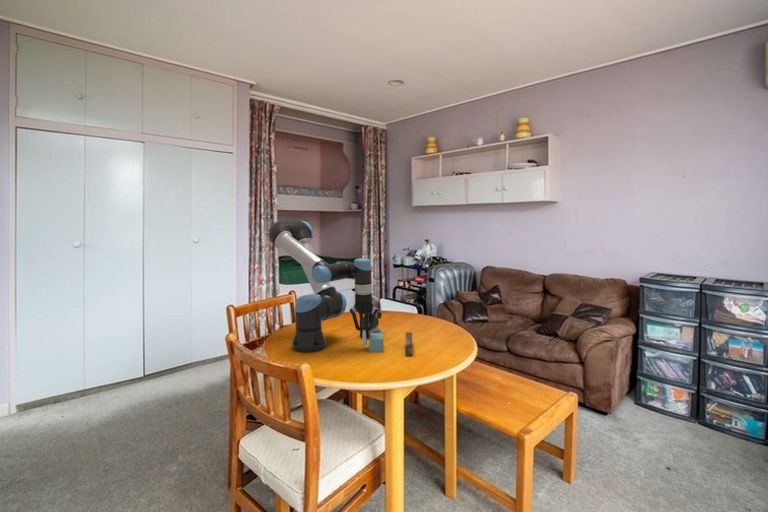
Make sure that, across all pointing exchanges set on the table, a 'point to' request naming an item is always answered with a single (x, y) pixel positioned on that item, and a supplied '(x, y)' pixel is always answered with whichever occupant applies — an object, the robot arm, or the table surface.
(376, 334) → the block
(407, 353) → the board
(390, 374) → the table surface
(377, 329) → the figurine
